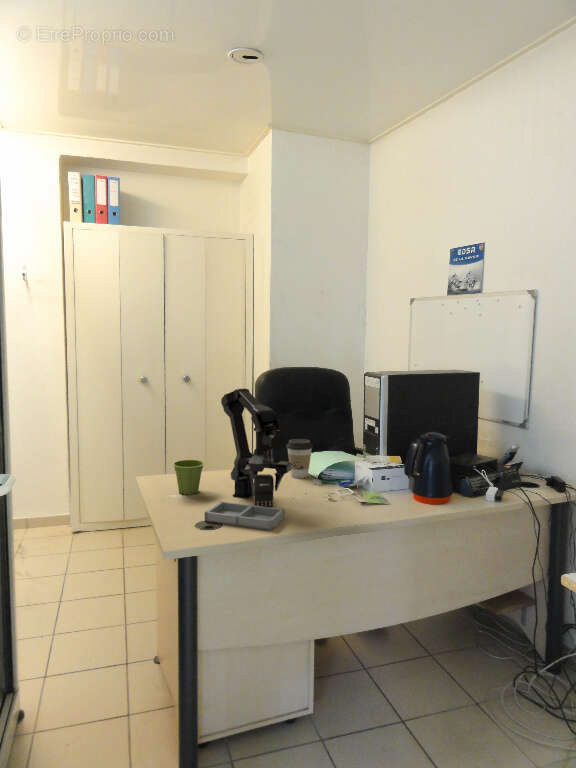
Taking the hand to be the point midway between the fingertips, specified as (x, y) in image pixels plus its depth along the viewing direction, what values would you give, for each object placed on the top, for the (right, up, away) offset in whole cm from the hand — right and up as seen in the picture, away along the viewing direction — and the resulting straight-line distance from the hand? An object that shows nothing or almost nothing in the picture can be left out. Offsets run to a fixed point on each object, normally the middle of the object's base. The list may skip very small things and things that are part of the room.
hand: (263, 489), depth 188 cm
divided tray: (-6, -8, -12) cm, 15 cm away
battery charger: (0, -6, +1) cm, 7 cm away
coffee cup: (+13, -3, +41) cm, 43 cm away
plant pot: (-29, -5, +17) cm, 34 cm away
